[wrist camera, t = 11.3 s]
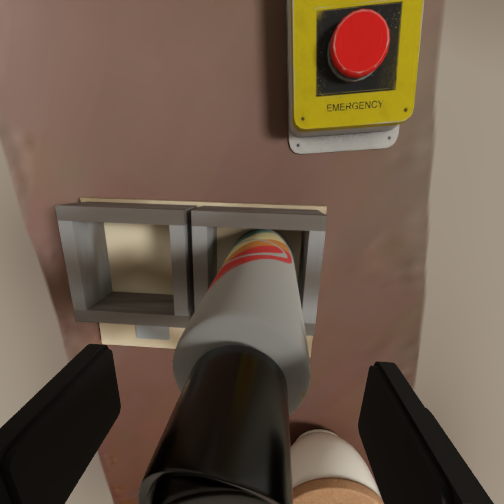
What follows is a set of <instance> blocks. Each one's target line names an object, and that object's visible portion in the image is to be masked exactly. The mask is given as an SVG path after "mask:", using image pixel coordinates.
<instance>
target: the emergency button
mask: <svg viewBox="0 0 504 504" xmlns="http://www.w3.org/2000/svg"><path fill="white" fill-rule="evenodd" d="M423 8H424V0H286V15H287V66H288V117H289V144H290V148H291V149H292V150H293V152H294V153H297V154H310V153H324V152H338V151H353V150H367V149H382V148H387V147H390V146H392V145H393V144H394V143H395V141H396V140H397V137H398V133H399V124H401V123H403V122H404V121H406V120H407V119H408V118H409V117H410V116H411V115H412V112H413V109H414V100H415V90H416V79H417V69H418V59H419V49H420V39H421V29H422V18H423Z"/></svg>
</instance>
